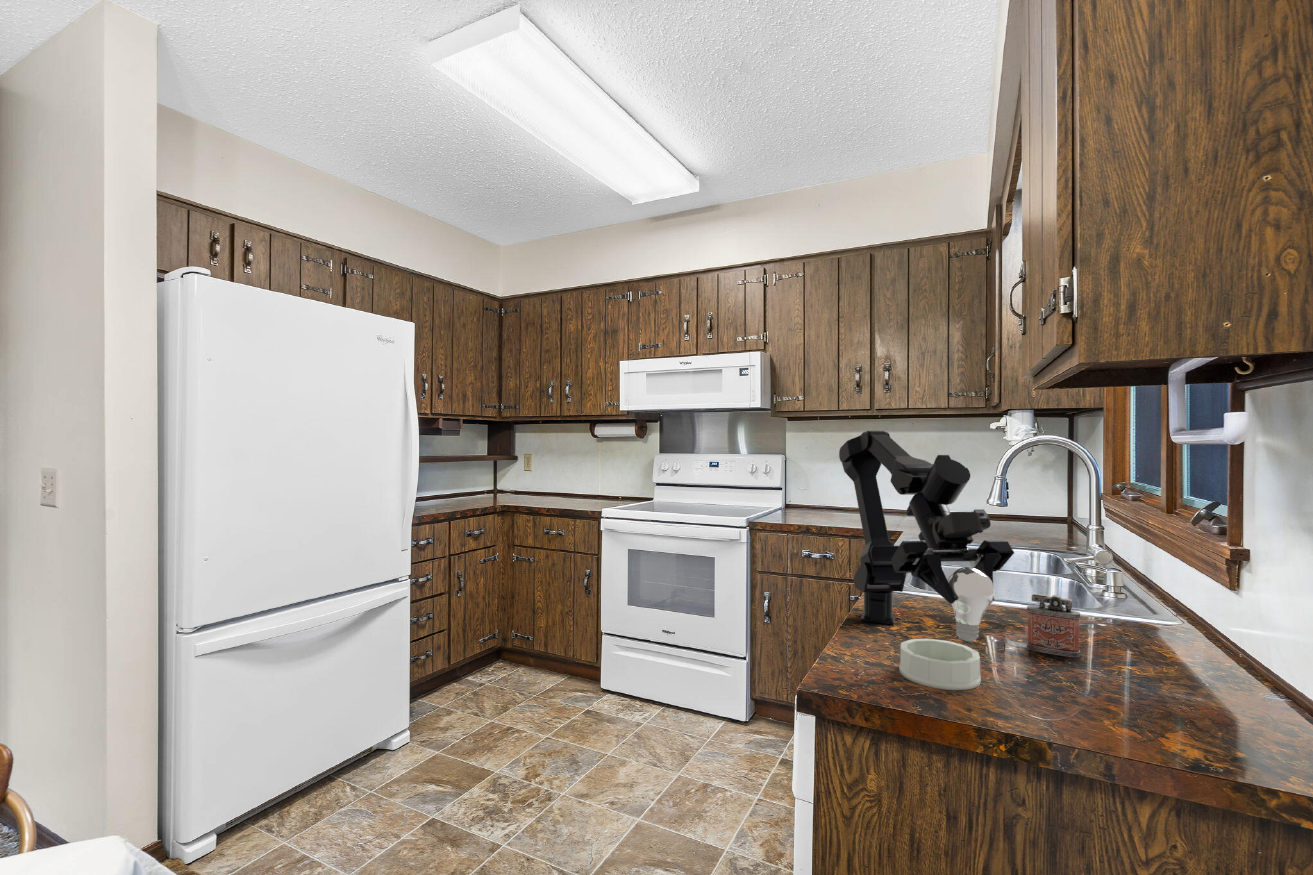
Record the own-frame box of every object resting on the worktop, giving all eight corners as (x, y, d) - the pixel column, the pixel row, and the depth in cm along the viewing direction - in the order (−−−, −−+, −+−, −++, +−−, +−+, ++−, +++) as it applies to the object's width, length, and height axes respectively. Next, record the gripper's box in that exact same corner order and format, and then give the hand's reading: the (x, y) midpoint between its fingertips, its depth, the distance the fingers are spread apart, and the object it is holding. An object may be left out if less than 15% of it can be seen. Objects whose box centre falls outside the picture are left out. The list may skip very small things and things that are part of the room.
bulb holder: (900, 658, 108) (900, 634, 108) (977, 668, 103) (977, 644, 103) (898, 682, 97) (898, 656, 97) (983, 695, 93) (984, 668, 93)
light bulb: (989, 653, 95) (994, 574, 95) (939, 642, 99) (944, 566, 99) (992, 641, 101) (997, 567, 101) (945, 632, 105) (950, 560, 105)
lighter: (1080, 653, 111) (1080, 596, 111) (1080, 658, 109) (1080, 600, 109) (1027, 644, 116) (1027, 590, 116) (1026, 649, 113) (1026, 594, 113)
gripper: (900, 492, 103) (936, 575, 92) (1007, 492, 105) (1055, 573, 94) (878, 532, 111) (908, 613, 100) (977, 531, 113) (1018, 610, 102)
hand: (972, 601), depth 99 cm, fingers closed on light bulb, 6 cm apart
